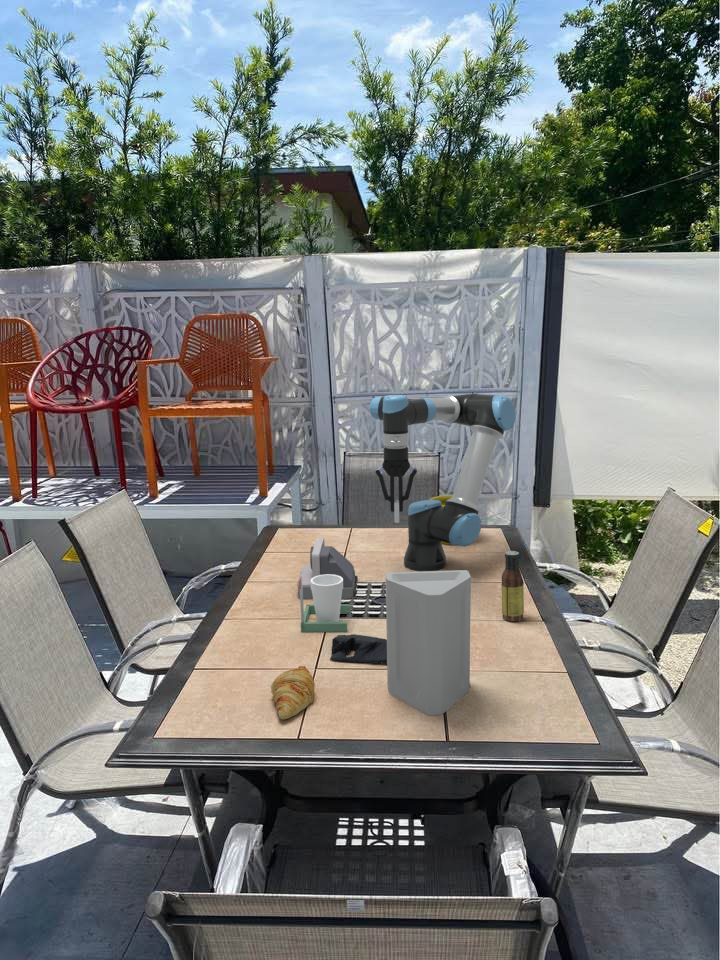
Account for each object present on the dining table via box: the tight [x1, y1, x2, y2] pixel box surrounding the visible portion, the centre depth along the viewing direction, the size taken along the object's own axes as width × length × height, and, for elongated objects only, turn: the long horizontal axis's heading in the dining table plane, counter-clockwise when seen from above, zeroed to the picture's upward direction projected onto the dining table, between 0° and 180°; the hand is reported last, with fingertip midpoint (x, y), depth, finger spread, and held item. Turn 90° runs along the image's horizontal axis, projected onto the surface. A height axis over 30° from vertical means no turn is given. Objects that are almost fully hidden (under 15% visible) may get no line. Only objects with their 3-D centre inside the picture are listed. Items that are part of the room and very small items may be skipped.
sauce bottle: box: [501, 550, 525, 623], centre depth 202 cm, size 6×6×20 cm
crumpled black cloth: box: [329, 633, 387, 665], centre depth 185 cm, size 15×22×5 cm
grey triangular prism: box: [385, 569, 472, 716], centre depth 159 cm, size 19×15×28 cm
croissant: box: [270, 665, 315, 720], centre depth 162 cm, size 21×10×8 cm, turn 174°
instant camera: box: [296, 536, 359, 600], centre depth 230 cm, size 21×21×15 cm
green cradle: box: [297, 574, 351, 633], centre depth 201 cm, size 13×18×16 cm
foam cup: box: [310, 574, 343, 622], centre depth 203 cm, size 10×9×13 cm
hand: (396, 521), depth 218 cm, fingers closed
